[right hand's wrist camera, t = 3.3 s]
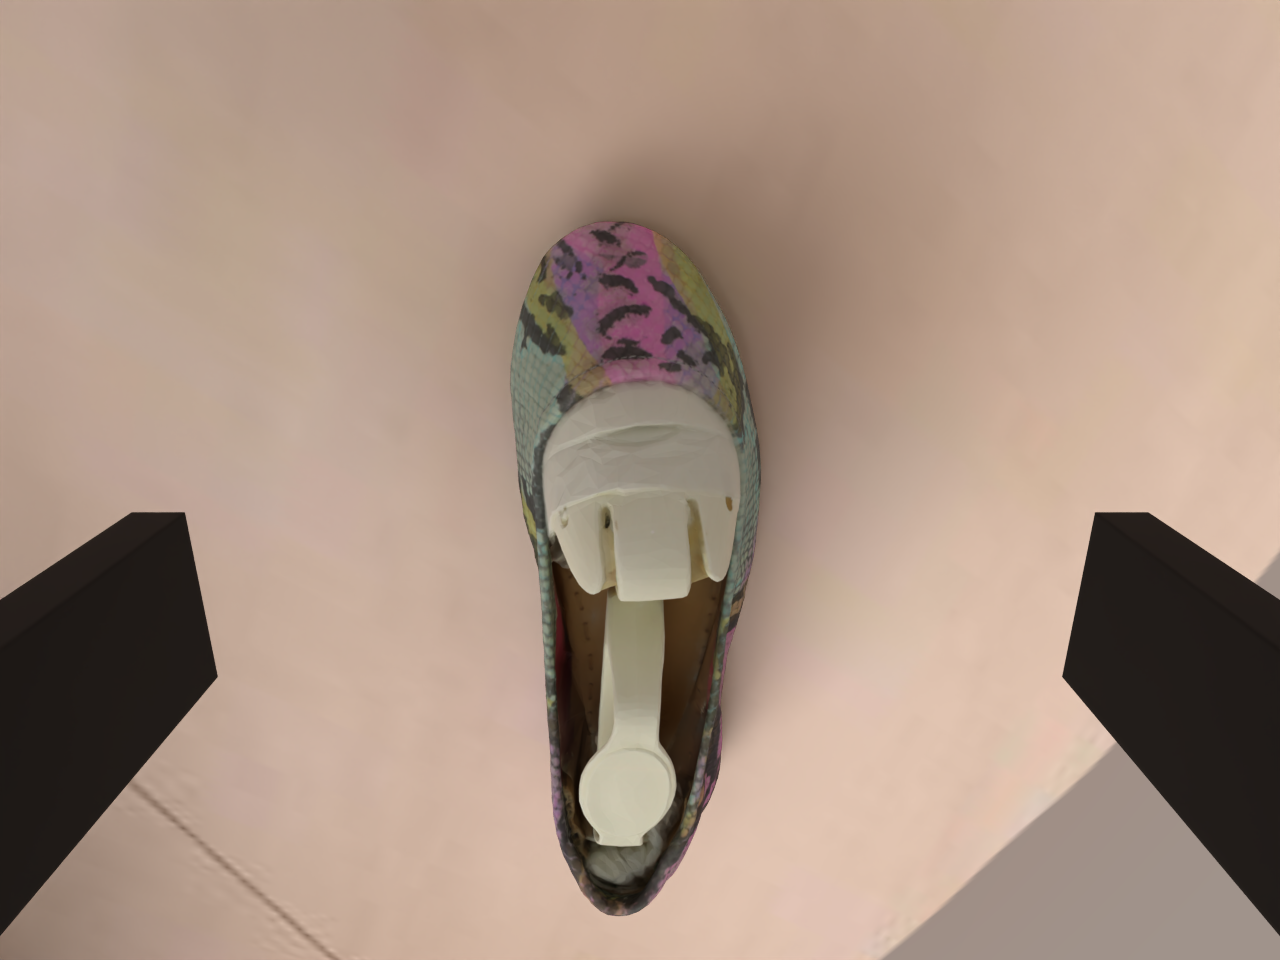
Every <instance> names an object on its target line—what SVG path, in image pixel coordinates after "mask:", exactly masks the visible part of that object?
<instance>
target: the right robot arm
mask: <svg viewBox="0 0 1280 960" xmlns="http://www.w3.org/2000/svg"><path fill="white" fill-rule="evenodd" d="M217 677H218V676H217V671H216V666H215V661H214V656H213V651H212V646H211V641H210V636H209V631H208V626H207V621H206V616H205V611H204V606H203V601H202V596H201V591H200V586H199V581H198V576H197V571H196V566H195V561H194V556H193V551H192V546H191V541H190V536H189V531H188V526H187V521H186V516H185V512H132V513H130V514H129V515H127V516H126V517H124V518H123V519H121V520H120V521H118V522H117V523H115V524H114V525H112V526H111V527H109V528H108V529H106V530H105V531H103V532H102V533H100V534H99V535H97V536H96V537H94V538H93V539H91V540H90V541H88V542H87V543H85V544H84V545H82V546H81V547H79V548H78V549H76V550H75V551H73V552H72V553H70V554H69V555H67V556H66V557H64V558H63V559H61V560H60V561H58V562H57V563H55V564H54V565H52V566H51V567H49V568H48V569H46V570H45V571H43V572H42V573H40V574H38V575H37V576H35V577H34V578H32V579H31V580H29V581H28V582H26V583H25V584H23V585H22V586H20V587H19V588H17V589H16V590H14V591H13V592H11V593H10V594H8V595H7V596H5V597H4V598H2V599H1V600H0V935H1V934H2V933H3V932H4V931H5V929H6V928H7V927H8V926H9V925H10V924H11V922H12V921H13V920H14V919H15V918H16V916H17V915H18V914H19V913H20V912H21V910H22V909H23V908H24V907H25V906H26V904H27V903H28V902H29V901H30V900H31V899H32V897H33V896H34V895H35V894H36V893H37V891H38V890H39V889H40V888H41V887H42V885H43V884H44V883H45V882H46V881H47V879H48V878H49V877H50V876H51V875H52V874H53V872H54V871H55V870H56V869H57V868H58V866H59V865H60V864H61V863H62V862H63V860H64V859H65V858H66V857H67V856H68V854H69V853H70V852H71V851H72V850H73V849H74V847H75V846H76V845H77V844H78V843H79V841H80V840H81V839H82V838H83V837H84V835H85V834H86V833H87V832H88V831H89V829H90V828H91V827H92V826H93V825H94V824H95V822H96V821H97V820H98V819H99V818H100V816H101V815H102V814H103V813H104V812H105V810H106V809H107V808H108V807H109V806H110V804H111V803H112V802H113V801H114V800H115V799H116V797H117V796H118V795H119V794H120V793H121V791H122V790H123V789H124V788H125V787H126V785H127V784H128V783H129V782H130V781H131V779H132V778H133V777H134V776H135V775H136V774H137V772H138V771H139V770H140V769H141V768H142V766H143V765H144V764H145V763H146V762H147V760H148V759H149V758H150V757H151V756H152V754H153V753H154V752H155V751H156V750H157V748H158V747H159V746H160V745H161V744H162V743H163V741H164V740H165V739H166V738H167V737H168V735H169V734H170V733H171V732H172V731H173V729H174V728H175V727H176V726H177V725H178V723H179V722H180V721H181V720H182V719H183V718H184V716H185V715H186V714H187V713H188V712H189V710H190V709H191V708H192V707H193V706H194V704H195V703H196V702H197V701H198V700H199V698H200V697H201V696H202V695H203V694H204V693H205V691H206V690H207V689H208V688H209V687H210V685H211V684H212V683H213V682H214V681H215V679H216V678H217ZM1062 677H1063V678H1064V679H1065V681H1066V682H1067V683H1068V684H1069V685H1070V687H1071V688H1072V689H1073V690H1074V691H1075V693H1076V694H1077V695H1078V696H1079V697H1080V698H1081V700H1082V701H1083V702H1084V703H1085V704H1086V706H1087V707H1088V708H1089V709H1090V710H1091V712H1092V713H1093V714H1094V715H1095V716H1096V718H1097V719H1098V720H1099V721H1100V722H1101V723H1102V725H1103V726H1104V727H1105V728H1106V729H1107V731H1108V732H1109V733H1110V734H1111V735H1112V737H1113V738H1114V739H1115V740H1116V741H1117V743H1118V744H1119V745H1120V746H1121V747H1122V748H1123V750H1124V751H1125V752H1126V753H1127V754H1128V756H1129V757H1130V758H1131V759H1132V760H1133V762H1134V763H1135V764H1136V765H1137V766H1138V767H1139V769H1140V770H1141V771H1142V772H1143V773H1144V775H1145V776H1146V777H1147V778H1148V779H1149V781H1150V782H1151V783H1152V784H1153V785H1154V787H1155V788H1156V789H1157V790H1158V791H1159V792H1160V794H1161V795H1162V796H1163V797H1164V799H1165V800H1166V801H1167V802H1168V803H1169V804H1170V806H1171V807H1172V808H1173V809H1174V810H1175V812H1176V813H1177V814H1178V815H1179V816H1180V818H1181V819H1182V820H1183V821H1184V822H1185V823H1186V825H1187V826H1188V827H1189V828H1190V829H1191V831H1192V832H1193V833H1194V834H1195V835H1196V837H1197V838H1198V839H1199V840H1200V841H1201V843H1202V844H1203V845H1204V846H1205V847H1206V848H1207V850H1208V851H1209V852H1210V853H1211V854H1212V856H1213V857H1214V858H1215V859H1216V860H1217V862H1218V863H1219V864H1220V865H1221V866H1222V868H1223V869H1224V870H1225V871H1226V872H1227V874H1228V875H1229V876H1230V877H1231V878H1232V879H1233V881H1234V882H1235V883H1236V884H1237V885H1238V886H1239V888H1240V889H1241V890H1242V891H1243V893H1244V894H1245V895H1246V896H1247V897H1248V899H1249V900H1250V901H1251V902H1252V903H1253V904H1254V906H1255V907H1256V908H1257V909H1258V910H1259V912H1260V913H1261V914H1262V915H1263V916H1264V918H1265V919H1266V920H1267V921H1268V922H1269V924H1270V925H1271V926H1272V927H1273V928H1274V929H1275V931H1276V932H1277V933H1278V934H1279V935H1280V600H1279V599H1278V598H1276V597H1275V596H1273V595H1272V594H1270V593H1269V592H1267V591H1265V590H1264V589H1263V588H1261V587H1260V586H1258V585H1257V584H1255V583H1254V582H1252V581H1251V580H1249V579H1248V578H1246V577H1245V576H1243V575H1241V574H1240V573H1238V572H1237V571H1235V570H1234V569H1232V568H1231V567H1229V566H1228V565H1226V564H1225V563H1223V562H1222V561H1220V560H1219V559H1217V558H1216V557H1214V556H1213V555H1211V554H1210V553H1208V552H1207V551H1205V550H1204V549H1202V548H1201V547H1199V546H1198V545H1196V544H1195V543H1193V542H1192V541H1190V540H1189V539H1187V538H1186V537H1184V536H1183V535H1181V534H1180V533H1178V532H1177V531H1175V530H1174V529H1172V528H1171V527H1169V526H1168V525H1166V524H1165V523H1163V522H1162V521H1160V520H1159V519H1157V518H1156V517H1154V516H1153V515H1151V514H1150V513H1148V512H1095V516H1094V521H1093V526H1092V531H1091V536H1090V541H1089V546H1088V551H1087V556H1086V561H1085V566H1084V571H1083V576H1082V581H1081V586H1080V591H1079V596H1078V601H1077V606H1076V611H1075V616H1074V621H1073V626H1072V631H1071V636H1070V641H1069V646H1068V651H1067V656H1066V661H1065V666H1064V671H1063V676H1062Z"/></svg>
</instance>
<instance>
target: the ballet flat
mask: <svg viewBox="0 0 1280 960" xmlns="http://www.w3.org/2000/svg"><path fill="white" fill-rule="evenodd" d="M510 386H511V397H512V410H513V421H514V429H515V439H516V451H517V462H518V477H519V487H520V493H521V498H522V505H523V514H524V519H525V522H526V525H527V529H528V533H529V535H530V539H531V542H532V545H533V548H534V552H535V558H536V562H537V565H538V569H539V582H540V591H541V605H542V624H543V643H544V662H545V679H546V699H547V716H548V728H549V740H550V755H551V779H552V803H553V815H554V821H555V826H556V832H557V836H558V839H559V843H560V847H561V850H562V853H563V855H564V858H565V859H566V861H567V863H568V865H569V868H570V870H571V872H572V874H573V876H574V878H575V879H576V881H577V883H578V885H579V887H580V889H581V891H582V893H583V894H584V895H585V896H586V897H587V898H588V899H589V901H590V902H591V903H592V904H593V905H594V906H595V907H596V908H598V909H599V910H600V911H601V912H603V913H605V914H607V915H612V916H625V915H630V914H633V913H636V912H638V911H640V910H641V909H643V908H644V907H646V906H647V905H648V904H649V903H650V902H651V901H652V900H653V899H654V898H655V897H656V896H657V894H658V893H659V892H660V890H661V889H662V887H663V886H664V884H665V882H666V880H668V879H669V878H670V877H671V876H672V875H673V873H674V872H675V871H676V870H677V868H678V866H679V864H680V863H681V861H682V859H683V857H684V855H685V853H686V851H687V849H688V847H689V845H690V843H691V841H692V838H693V836H694V834H695V831H696V829H697V826H698V823H699V820H700V817H701V813H702V812H703V810H704V809H705V807H706V806H707V804H708V802H709V800H710V798H711V795H712V793H713V790H714V788H715V785H716V781H717V779H718V774H719V770H720V762H721V748H722V717H721V706H720V704H721V692H722V687H723V677H724V672H725V667H726V659H727V654H728V650H729V646H730V643H731V641H732V637H733V634H734V631H735V628H736V625H737V621H738V618H739V614H740V611H741V608H742V604H743V600H744V596H745V589H746V585H747V581H748V577H749V573H750V569H751V565H752V561H753V556H754V549H755V543H756V531H757V522H758V512H759V498H760V481H761V464H760V449H759V441H758V435H757V428H756V423H755V419H754V414H753V409H752V404H751V400H750V395H749V390H748V385H747V381H746V377H745V373H744V369H743V365H742V362H741V359H740V356H739V353H738V350H737V347H736V344H735V341H734V338H733V335H732V333H731V330H730V327H729V325H728V323H727V320H726V318H725V316H724V314H723V312H722V311H721V309H720V307H719V305H718V303H717V301H716V299H715V298H714V296H713V294H712V292H711V291H710V289H709V287H708V286H707V284H706V282H705V281H704V279H703V277H702V275H701V274H700V272H699V271H698V269H697V268H696V267H695V265H694V264H693V263H692V262H691V261H690V259H689V258H688V257H687V256H686V255H685V254H684V253H683V252H682V251H681V250H680V249H679V248H678V247H676V246H675V245H674V244H673V243H672V242H671V241H669V240H668V239H666V238H665V237H663V236H661V235H660V234H658V233H656V232H655V231H652V230H650V229H648V228H645V227H642V226H639V225H636V224H633V223H627V222H607V221H606V222H596V223H593V224H589V225H586V226H583V227H581V228H578V229H577V230H575V231H573V232H571V233H569V234H568V235H566V236H565V237H564V238H562V239H561V240H560V241H559V242H557V243H556V244H555V245H554V246H553V247H552V248H551V249H550V250H549V251H548V252H547V253H546V255H545V256H544V257H543V259H542V261H541V263H540V265H539V267H538V268H537V270H536V272H535V274H534V277H533V279H532V281H531V284H530V287H529V289H528V292H527V295H526V298H525V300H524V303H523V306H522V310H521V313H520V317H519V321H518V325H517V329H516V335H515V341H514V346H513V354H512V361H511V380H510Z"/></svg>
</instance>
